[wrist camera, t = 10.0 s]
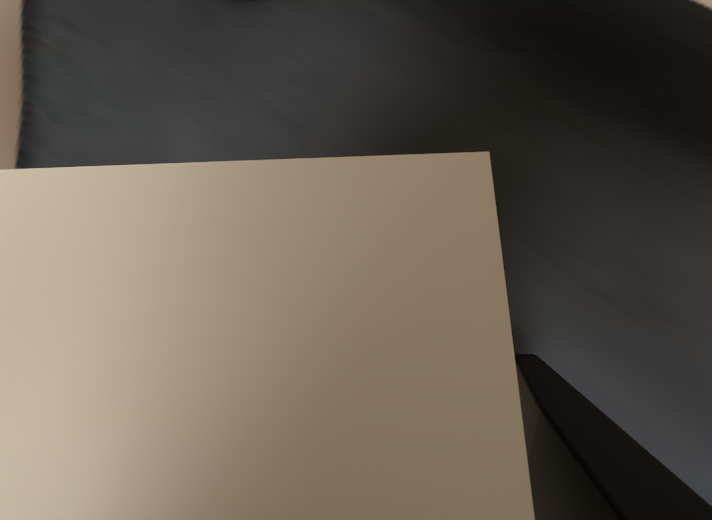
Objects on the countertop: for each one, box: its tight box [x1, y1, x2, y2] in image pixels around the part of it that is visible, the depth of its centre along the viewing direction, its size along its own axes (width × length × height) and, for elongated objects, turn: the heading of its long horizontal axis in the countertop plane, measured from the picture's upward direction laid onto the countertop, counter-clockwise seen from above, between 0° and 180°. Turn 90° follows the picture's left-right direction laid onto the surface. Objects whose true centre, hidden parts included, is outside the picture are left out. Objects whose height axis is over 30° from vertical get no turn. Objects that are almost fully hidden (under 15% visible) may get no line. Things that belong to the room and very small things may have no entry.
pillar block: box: [0, 152, 535, 520], centre depth 11 cm, size 6×6×12 cm
